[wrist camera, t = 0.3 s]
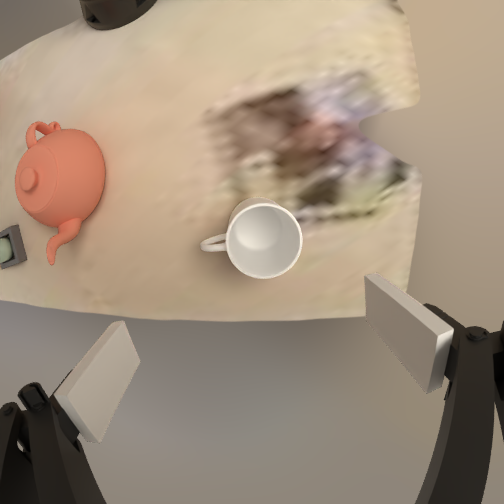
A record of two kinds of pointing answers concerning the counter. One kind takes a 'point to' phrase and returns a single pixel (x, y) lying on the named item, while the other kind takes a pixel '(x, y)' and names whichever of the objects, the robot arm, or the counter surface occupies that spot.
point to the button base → (14, 246)
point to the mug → (259, 238)
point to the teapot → (60, 180)
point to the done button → (5, 249)
